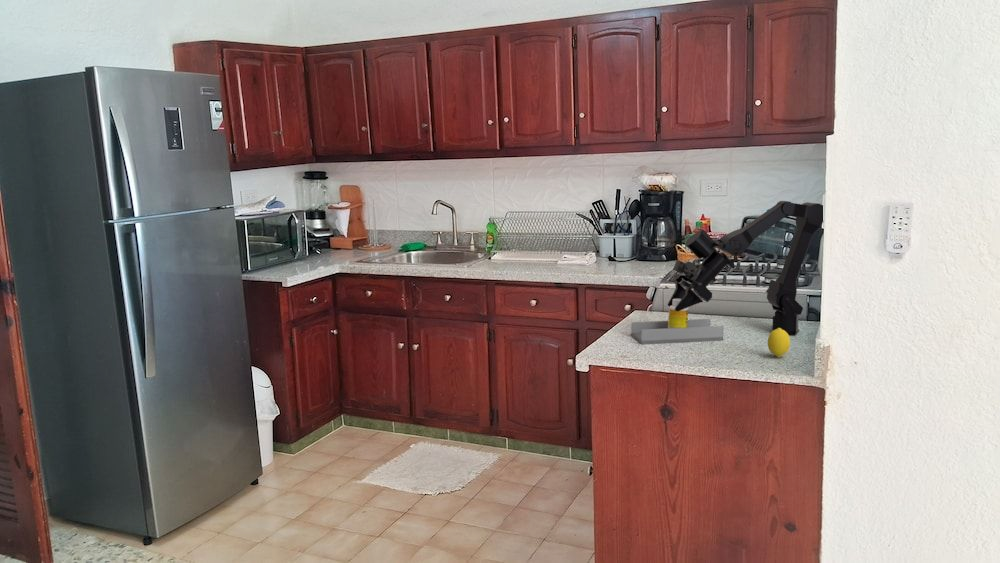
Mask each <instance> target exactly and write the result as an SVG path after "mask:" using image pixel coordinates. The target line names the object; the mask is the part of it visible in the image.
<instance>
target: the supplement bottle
mask: <svg viewBox="0 0 1000 563" xmlns="http://www.w3.org/2000/svg"><path fill="white" fill-rule="evenodd" d="M680 301H681V299H673V301H672V305H671V306H670V307H669V306H668V307H669V308H668V319H667V321H668V328H687V323H688V320H689V312H690V311H689V307H687V308H685V309H682V310H680V311H676V310H675V308H676V306H677V305H678V303H679V302H680Z"/></svg>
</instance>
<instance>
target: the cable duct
mask: <svg viewBox="0 0 1000 563" xmlns="http://www.w3.org/2000/svg"><path fill="white" fill-rule="evenodd" d="M711 322H712V321H711V318H695V319H688V323H687V328H668V320H654V321H653V320H651V321H649V320H648V321H631V323H630V327H631V329H630V330H631V332H630V333H631V334H630V335H631V336H632V338H634V339H635V340H636V341H638V342H639V343H640V344H641V345H654V344H658V345H659V344H673V343H675V344H676V343H694V342H697V343H698V342H717V341H724V326H723V325H716V326H715V325H713V326H711V325H712V323H711Z"/></svg>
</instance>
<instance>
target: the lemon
mask: <svg viewBox="0 0 1000 563" xmlns="http://www.w3.org/2000/svg"><path fill="white" fill-rule="evenodd" d="M790 345H791V339H790V335H788V333H787V332H786V331H784V330H782V329H781V328H777V329H775V330H772V331H771V332H770V333H769V335H768V338H767V347H768V350H769V351H770V353H771V354H772V355H774V356H776V357H777V358H781V357H782V356H784V355H786V353H788V352H789V350H790V347H791V346H790Z"/></svg>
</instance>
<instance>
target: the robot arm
mask: <svg viewBox="0 0 1000 563" xmlns="http://www.w3.org/2000/svg"><path fill="white" fill-rule="evenodd" d="M823 206H824V205H823V204H821V203H817V202H808V201H807V202H804V203H794V202H791V201H790V200H789V201H788V200H780V201H778V202H777V203H776V204H775V205H774V206H772V207H771V208H769V209H768V210H767V211H765V212H764V213H762V214H761V215H759V216H758V217H757V218H755V219H754V220H752V221H751V222H749V223H748V224H746V225H744V227H741V228H739V229H736V230H733V231H730V232H729V233H727V234H724V235H723V236H722V237H721V238H719V239H713V238H712V237H711V236H710V235H709V234H708V232H707V231H706V230H705V229H702V228H701V229H699V230H698V231H696V232H695V233H694V234H692V235H689V237H688V238H687V239H686V241H685V243H684V245H685V247H686V248H687V249H688V250H689V251H690V252H691V253H693V254H694V256H695V257H696V258H697V259H702V258H703V259H704V260H703V261H702V262H701V263H700V264H697V263H696V264H695V263H694V262H691V261H689V260H688V261H686V262H684V261H680V260H678V259H677V260H676V261H675V264H674V266H673V268H672V270H673V271H675V272H678V273H677V274H675V275H674V276H673V278H672V279H673V280H674V284H675V285H674V286H675V289H674V291H673V293H672V295H671V297H670V299H669V301H668V303H667V306H668V307H670V306H671V305H672V301H673V299H681V301H680V302H679V303H678V305H677V306H676V308H675V310H676V311H680V310H682V309H685V308H687V307H688V308H689V307H692V306H695V305H698V304H700V303H703V302H705V303H708V302H709V301H710V300H711V299H712V298H713V293H712V291H711V290H709V288H707V287H708V286H709V285H710V283H712V282H713V283H715V282H716V281H717V276H718V275H719V274H720V273H721V272H723V270H724V269H725V268H726V267H728V268H731V269H735V267H736V266H735V258H733V257H738V256H741V255H742V254H744V253H745V252H746V250H748V248H749V247H751V245H752V244H753V242H754V240H756V239H757V238H758V237H759V236H761V235H762V234H763V233H765V232H767V231H768V230H769V229H770V228H771V227H773V226H775V225H776V224H777V223H780V222H781V221H782V220H783V219H785V218H786V217H788V216H793V217H795V228H796V229H795V233H794V236H793V239H792V241H791V243H790V247H789V249H788V253H787V254H786V255H787V256H786V259H785V261H784V264H783V266H782V270H781V272H780V274H779V276H778V277H777V279H776V280H775V279H770V281H769V285H768V287H767V289H766V291H765V293H766V294H767V295H766V299H767V301H768V303H769V304H770V305H771V307H772V310H773V311H774V315H773V316H772V327H771V328H772V331H773V330H775V329H777V328H781V329H782V330H784V331H786V332H787V333H788V335H789V336H796V335H797V334H798V333H799V332H800V329H799V317H800V316H799V315H802V313H803V310H804V307H803V306H802V305H801V304H800V303H799V302H798V301H797V300H796V298H797V293H798V292H797V279H798V277H799V273H800V271H801V268H802V265H803V263H804V261H805V257H806V256H807V255H806V254H807V252H808V249H809V247H810V244H811V241H812V239H813V236H814V234H815V233H816V232H817V231H818V230H819V229H820V228H821V227H822V225H823V223H824V221H823ZM717 249H718V250H721V251H722V252H720V251H718V250H717ZM727 254H728V255H730V256H733V257H732V258H729V257H728V256H727Z"/></svg>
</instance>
